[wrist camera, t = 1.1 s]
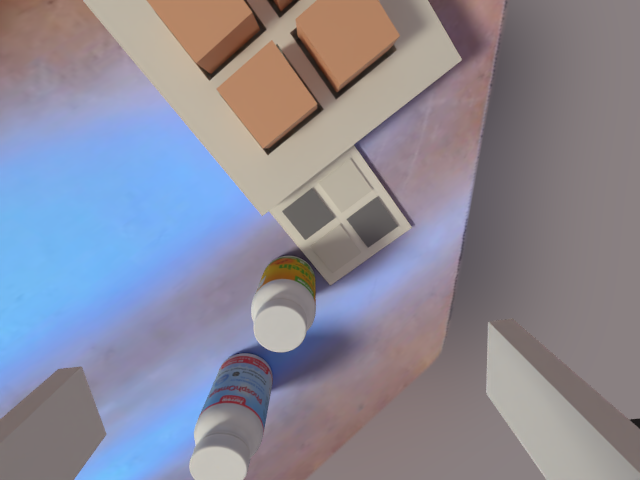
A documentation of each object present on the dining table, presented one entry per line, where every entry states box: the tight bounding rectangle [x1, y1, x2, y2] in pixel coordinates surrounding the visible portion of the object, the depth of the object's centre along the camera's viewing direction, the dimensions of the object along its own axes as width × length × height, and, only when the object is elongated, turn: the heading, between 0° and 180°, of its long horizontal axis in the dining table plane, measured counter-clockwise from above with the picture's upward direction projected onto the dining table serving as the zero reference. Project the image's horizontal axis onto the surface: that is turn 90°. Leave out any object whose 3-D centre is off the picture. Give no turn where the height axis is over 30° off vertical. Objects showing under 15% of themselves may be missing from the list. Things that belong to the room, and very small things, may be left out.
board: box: [83, 0, 462, 216], centre depth 26 cm, size 20×20×4 cm
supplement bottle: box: [251, 256, 316, 352], centre depth 29 cm, size 5×5×10 cm
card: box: [269, 145, 412, 285], centre depth 32 cm, size 10×10×1 cm
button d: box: [147, 0, 260, 74], centre depth 23 cm, size 5×5×3 cm
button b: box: [217, 40, 317, 149], centre depth 25 cm, size 5×5×3 cm
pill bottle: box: [189, 353, 273, 480], centre depth 32 cm, size 6×6×11 cm
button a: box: [295, 0, 400, 92], centre depth 24 cm, size 5×5×3 cm
